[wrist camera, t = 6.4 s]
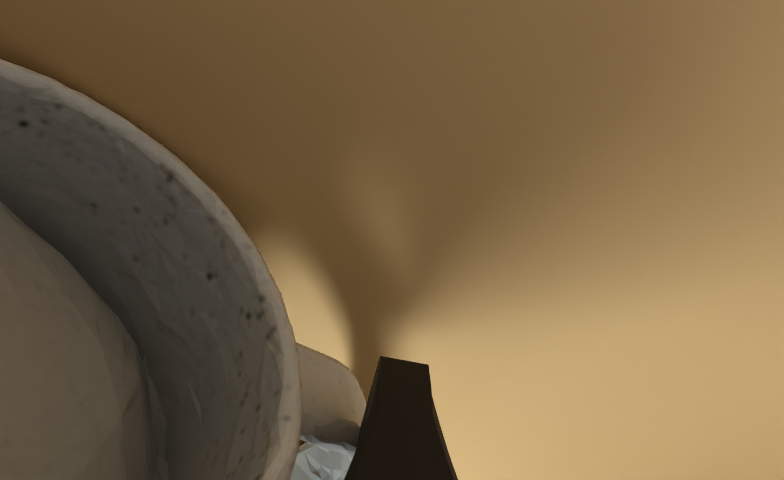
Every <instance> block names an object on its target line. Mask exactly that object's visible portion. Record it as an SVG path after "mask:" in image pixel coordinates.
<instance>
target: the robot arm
mask: <svg viewBox="0 0 784 480" xmlns="http://www.w3.org/2000/svg"><path fill="white" fill-rule="evenodd" d="M344 480H458V478H457V476H456V473H455V470H454V467H453V465H452V462H451V459H450V456H449V453H448V450H447V447H446V443H445V440H444V437H443V433H442V430H441V427H440V424H439V420H438V417H437V413H436V409H435V406H434V402H433V398H432V391H431V381H430V374H429V366H428V365H427V364H421V363H416V362H410V361H405V360H399V359H394V358H388V357H382V356H380V359H379V362H378V366H377V369H376V373H375V376H374V380H373V384H372V387H371V391H370V394H369V398H368V401H367V405H366V409H365V412H364V416H363V419H362V423H361V426H360V433H359V439H358V445H357V449H356V451H355V454H354V456H353V459H352V461H351V464H350V466H349V469H348V471H347V474H346V476H345V478H344Z"/></svg>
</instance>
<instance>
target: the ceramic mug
mask: <svg viewBox="0 0 784 480" xmlns="http://www.w3.org/2000/svg"><path fill="white" fill-rule="evenodd" d="M366 405H367V404H366V401H365V397H364V395H363V392H362V390H361V388H360V385H359V383H358V381H357V379H356V378H355V376H354V375H353V374H352V372H351V371H350V370H349V368H348V367H346V366H345V365H343V364H342V363H340V362H339V361H338V360H336V359H334V358H331V357H329V356H327V355H325V354H322V353H320V352H318V351H315V350H313V349H310V348H308V347H306V346H303V345H301V344H298V343H296V341H295V337H294V333H293V328H292V326H291V324H290V321H289V318H288V315H287V312H286V308H285V305H284V302H283V299H282V295H281V293H280V291H279V289H278V287H277V285H276V283H275V281H274V279H273V277H272V275H271V273H270V271H269V269H268V267H267V265H266V263H265V261H264V259H263V257H262V255H261V253H260V251H259V250H258V248H257V247H256V245H255V244H254V243H253V241H252V240H251V239H250V237H249V236H248V235H247V233H246V232H245V230H244V229H243V228H242V226H241V225H240V224H239V222H238V221H237V219H236V218H235V217H234V215H233V214H232V213H231V211H230V210H229V209H228V207H227V206H226V205H225V204H224V203H223V201H222V200H221V199H220V198H219V197H218V196H217V194H216V193H215V192H214V191H213V190H212V189H211V188H210V187H208V186H207V185H206V184H205V183H204V182H203V181H202V180H201V179H200V178H199V177H198V176H197V175H196V174H195V173H194V172H192V171H191V170H190V169H189V168H188V167H187V166H186V165H185V164H184V163H183V162H182V161H181V160H180V159H179V158H178V157H177V156H175V155H174V154H173V153H172V152H170V151H169V150H168V149H166V148H165V147H164V146H162V145H161V144H160V143H158V142H157V141H156V140H154V139H153V138H151V137H150V136H149V135H147V134H146V133H144V132H143V131H142V130H140V129H139V128H137V127H136V126H135V125H133V124H132V123H130V122H129V121H128V120H126V119H125V118H123V117H122V116H120V115H118V114H117V113H115V112H113V111H112V110H110V109H108V108H106V107H105V106H103V105H101V104H100V103H98V102H96V101H95V100H93V99H91V98H89V97H88V96H86V95H84V94H83V93H81V92H78V91H75V90H72V89H70V88H69V87H67V86H65V85H63V84H62V83H60V82H58V81H57V80H55V79H53V78H50V77H48V76H45V75H43V74H40V73H37V72H35V71H32V70H30V69H27V68H24V67H21V66H19V65H16V64H13V63H10V62H8V61H5V60H2V59H0V480H344V478H345V476H346V474H347V471H348V469H349V466H350V464H351V461H352V459H353V456H354V454H355V451H356V449H357V445H358V439H359V433H360V426H361V423H362V419H363V416H364V412H365V409H366ZM300 440H303V441H306V443H304V444H302V445H301V446H299V443H300Z"/></svg>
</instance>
